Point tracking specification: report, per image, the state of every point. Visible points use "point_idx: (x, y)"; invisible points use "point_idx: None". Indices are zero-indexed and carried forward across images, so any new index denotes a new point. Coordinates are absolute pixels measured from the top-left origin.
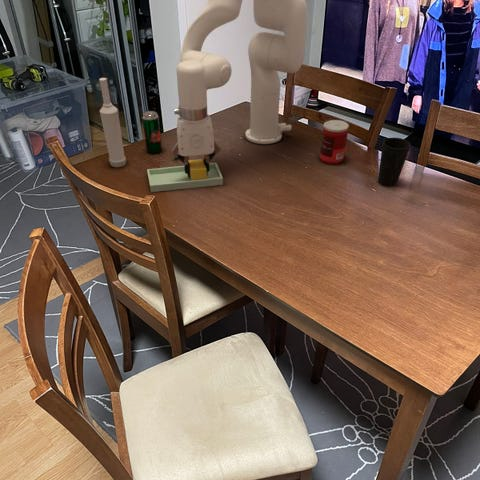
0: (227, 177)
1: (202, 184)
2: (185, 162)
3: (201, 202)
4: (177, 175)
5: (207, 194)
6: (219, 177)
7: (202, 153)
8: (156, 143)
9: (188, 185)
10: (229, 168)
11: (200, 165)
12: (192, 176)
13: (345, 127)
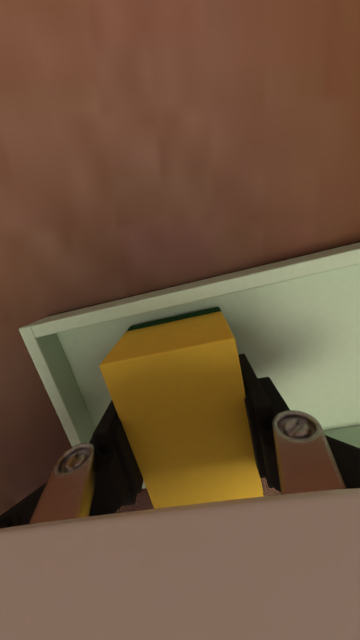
0: (41, 389)
1: (152, 292)
2: (302, 430)
3: (141, 74)
4: (304, 399)
5: (116, 198)
6: (59, 362)
7: (47, 547)
8: None
9: (240, 273)
10: (50, 465)
11: (156, 422)
12: (217, 321)
13: None
